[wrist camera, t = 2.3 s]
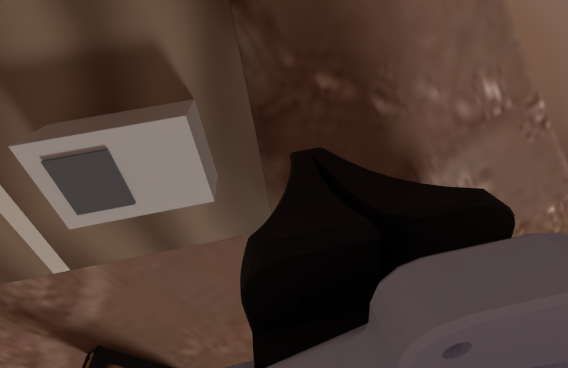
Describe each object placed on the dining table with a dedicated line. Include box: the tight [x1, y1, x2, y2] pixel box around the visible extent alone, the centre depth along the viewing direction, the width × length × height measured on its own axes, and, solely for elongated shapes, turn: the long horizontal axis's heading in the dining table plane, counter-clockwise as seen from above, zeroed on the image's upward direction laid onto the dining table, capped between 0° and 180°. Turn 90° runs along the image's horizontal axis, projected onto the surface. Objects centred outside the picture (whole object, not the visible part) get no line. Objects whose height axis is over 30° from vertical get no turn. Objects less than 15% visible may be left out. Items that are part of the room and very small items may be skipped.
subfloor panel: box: [0, 0, 272, 284], centre depth 17 cm, size 22×16×1 cm
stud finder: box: [9, 99, 218, 229], centre depth 15 cm, size 8×5×3 cm, turn 97°
